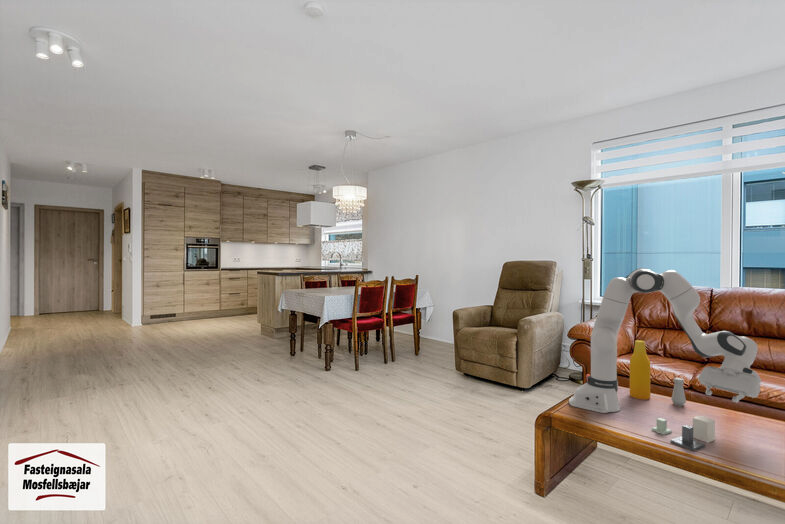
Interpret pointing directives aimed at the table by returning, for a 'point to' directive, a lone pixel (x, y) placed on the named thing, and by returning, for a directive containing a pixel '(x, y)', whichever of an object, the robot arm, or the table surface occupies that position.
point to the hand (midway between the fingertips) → (720, 397)
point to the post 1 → (662, 427)
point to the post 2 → (687, 439)
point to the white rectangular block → (703, 428)
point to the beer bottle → (640, 372)
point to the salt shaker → (678, 392)
